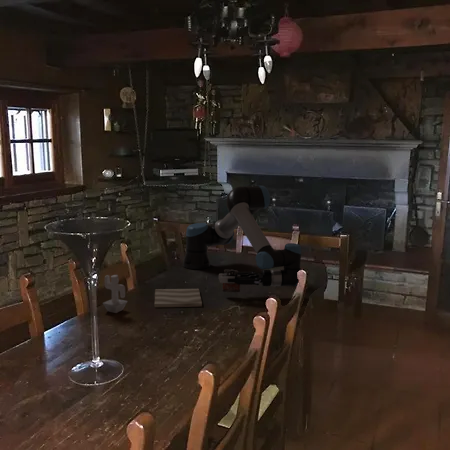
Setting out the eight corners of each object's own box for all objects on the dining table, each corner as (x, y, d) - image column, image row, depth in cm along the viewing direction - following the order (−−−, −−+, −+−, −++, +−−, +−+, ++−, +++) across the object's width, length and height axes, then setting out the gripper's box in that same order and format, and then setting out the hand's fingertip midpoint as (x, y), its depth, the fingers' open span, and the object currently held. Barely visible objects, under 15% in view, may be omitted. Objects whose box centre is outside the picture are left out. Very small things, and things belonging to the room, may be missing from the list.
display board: (155, 292, 232) (155, 289, 231) (198, 291, 234) (198, 288, 234) (154, 307, 212) (154, 303, 212) (201, 306, 215) (201, 303, 214)
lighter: (240, 290, 229) (240, 269, 227) (239, 292, 226) (240, 271, 224) (222, 289, 229) (223, 268, 227) (221, 291, 226) (222, 270, 224)
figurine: (118, 315, 202) (118, 279, 199) (100, 311, 206) (99, 275, 203) (129, 309, 208) (129, 275, 206) (111, 306, 212) (111, 271, 210)
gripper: (274, 291, 221) (221, 292, 218) (266, 280, 237) (217, 280, 235) (275, 275, 220) (221, 275, 217) (267, 265, 236) (217, 265, 233)
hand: (219, 278), depth 226 cm, fingers closed on lighter, 4 cm apart
